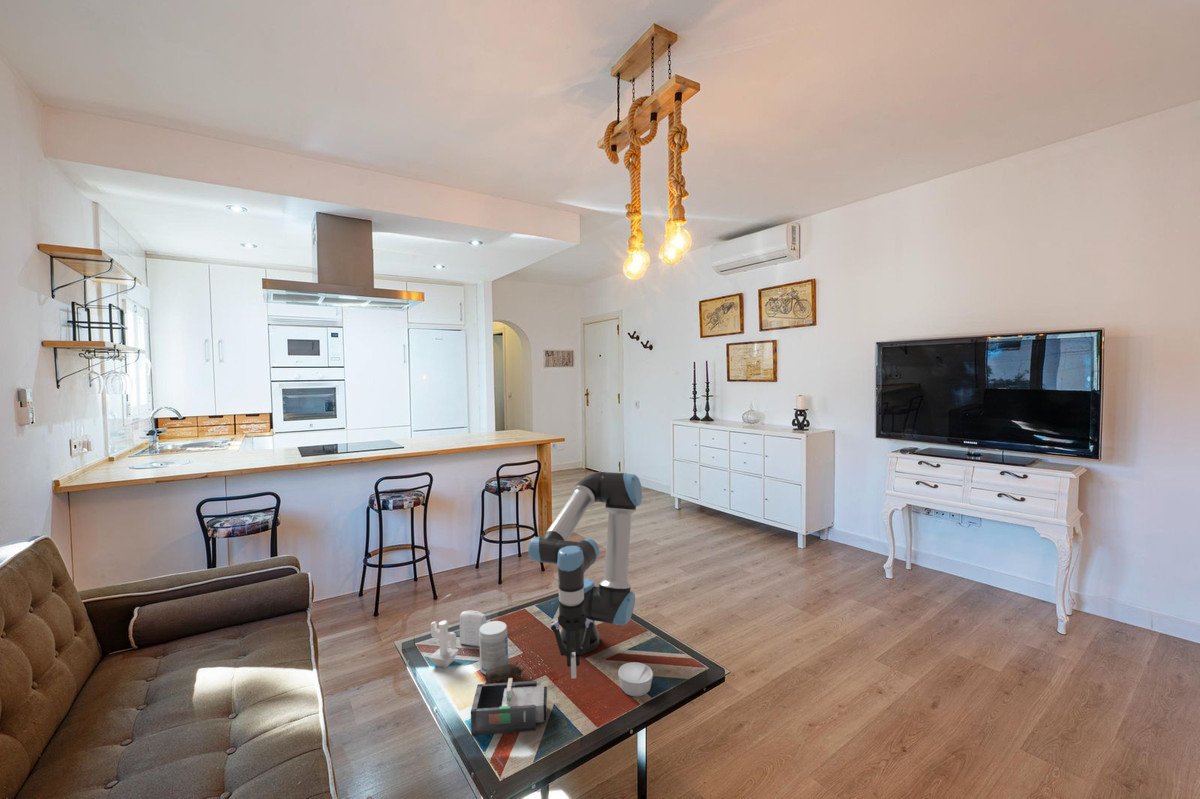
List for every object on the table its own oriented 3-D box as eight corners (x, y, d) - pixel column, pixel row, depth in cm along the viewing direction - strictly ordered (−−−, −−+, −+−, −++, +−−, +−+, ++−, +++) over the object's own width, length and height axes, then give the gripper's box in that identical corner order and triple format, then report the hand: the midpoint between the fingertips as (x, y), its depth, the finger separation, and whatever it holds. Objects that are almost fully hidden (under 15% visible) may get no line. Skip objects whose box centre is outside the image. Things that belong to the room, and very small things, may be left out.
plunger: (547, 700, 151) (546, 672, 150) (546, 721, 142) (545, 691, 141) (505, 703, 150) (504, 675, 149) (501, 724, 141) (500, 694, 140)
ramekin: (657, 697, 154) (657, 680, 154) (622, 701, 152) (622, 685, 152) (647, 675, 165) (647, 660, 165) (615, 679, 163) (615, 663, 163)
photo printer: (488, 641, 187) (487, 610, 186) (482, 648, 182) (482, 615, 182) (464, 638, 189) (463, 607, 188) (458, 644, 185) (457, 612, 184)
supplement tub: (512, 670, 168) (511, 629, 167) (486, 680, 163) (485, 638, 162) (501, 657, 176) (500, 617, 176) (476, 666, 171) (475, 625, 170)
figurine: (450, 671, 168) (448, 629, 168) (426, 667, 171) (425, 625, 170) (461, 659, 175) (460, 618, 174) (439, 655, 178) (437, 615, 177)
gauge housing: (537, 702, 152) (536, 680, 152) (535, 731, 140) (534, 707, 140) (478, 706, 151) (477, 683, 150) (471, 736, 138) (470, 711, 138)
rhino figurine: (526, 680, 163) (526, 662, 163) (485, 692, 157) (485, 674, 157) (523, 673, 167) (522, 656, 167) (482, 684, 161) (482, 667, 161)
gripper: (592, 592, 149) (594, 666, 151) (549, 595, 148) (552, 669, 150) (594, 605, 142) (596, 682, 144) (549, 607, 141) (551, 685, 143)
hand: (573, 675), depth 147 cm, fingers closed
